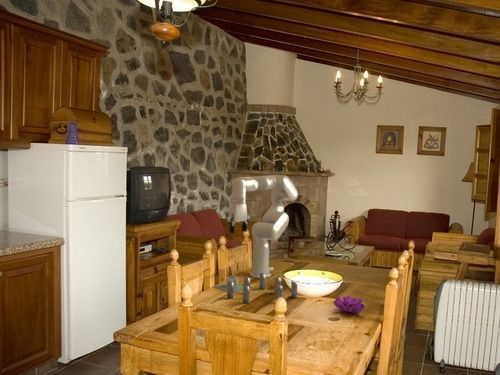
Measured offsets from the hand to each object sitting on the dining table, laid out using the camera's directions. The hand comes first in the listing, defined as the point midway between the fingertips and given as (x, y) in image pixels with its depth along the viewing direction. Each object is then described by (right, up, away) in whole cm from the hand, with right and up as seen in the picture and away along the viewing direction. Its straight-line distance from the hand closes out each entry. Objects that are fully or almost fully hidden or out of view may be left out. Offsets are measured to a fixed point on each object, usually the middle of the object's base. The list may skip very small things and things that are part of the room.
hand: (238, 232), depth 255 cm
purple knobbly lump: (+52, -32, -43) cm, 75 cm away
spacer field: (+13, -30, -25) cm, 41 cm away
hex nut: (-3, -28, -8) cm, 30 cm away
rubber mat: (-3, -29, -8) cm, 30 cm away
